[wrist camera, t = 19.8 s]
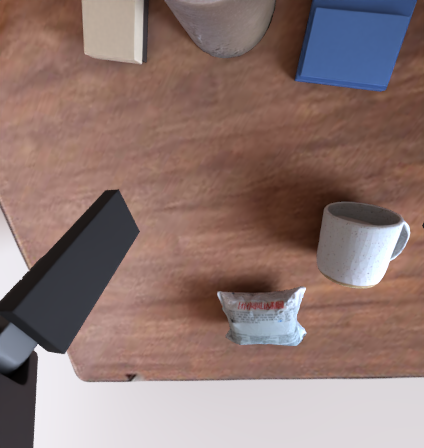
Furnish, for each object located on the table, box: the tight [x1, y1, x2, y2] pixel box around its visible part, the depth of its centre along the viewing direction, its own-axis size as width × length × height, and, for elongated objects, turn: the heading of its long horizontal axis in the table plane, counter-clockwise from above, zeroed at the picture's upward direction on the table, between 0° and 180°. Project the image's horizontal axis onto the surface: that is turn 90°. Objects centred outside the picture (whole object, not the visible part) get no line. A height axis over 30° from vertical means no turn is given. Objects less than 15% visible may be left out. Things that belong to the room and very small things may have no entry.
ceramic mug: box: [317, 202, 410, 288], centre depth 29 cm, size 11×8×8 cm
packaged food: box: [218, 286, 306, 346], centre depth 36 cm, size 9×12×5 cm
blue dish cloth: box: [295, 0, 417, 91], centre depth 24 cm, size 9×12×2 cm
